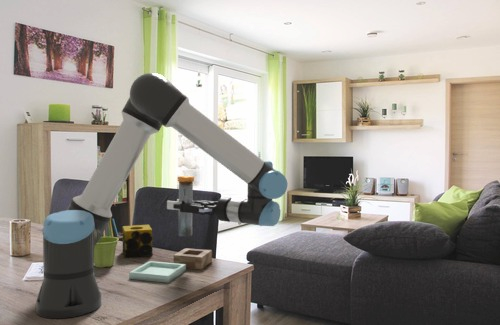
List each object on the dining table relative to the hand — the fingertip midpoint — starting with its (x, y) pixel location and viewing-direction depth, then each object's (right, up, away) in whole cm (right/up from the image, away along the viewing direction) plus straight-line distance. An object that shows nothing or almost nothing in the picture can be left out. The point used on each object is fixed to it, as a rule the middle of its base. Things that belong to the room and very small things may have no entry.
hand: (172, 203), depth 146 cm
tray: (-3, -21, -10) cm, 24 cm away
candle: (-16, -20, +15) cm, 30 cm away
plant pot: (-23, -21, -1) cm, 31 cm away
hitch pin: (+5, -10, -2) cm, 11 cm away
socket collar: (+7, -21, +2) cm, 22 cm away
